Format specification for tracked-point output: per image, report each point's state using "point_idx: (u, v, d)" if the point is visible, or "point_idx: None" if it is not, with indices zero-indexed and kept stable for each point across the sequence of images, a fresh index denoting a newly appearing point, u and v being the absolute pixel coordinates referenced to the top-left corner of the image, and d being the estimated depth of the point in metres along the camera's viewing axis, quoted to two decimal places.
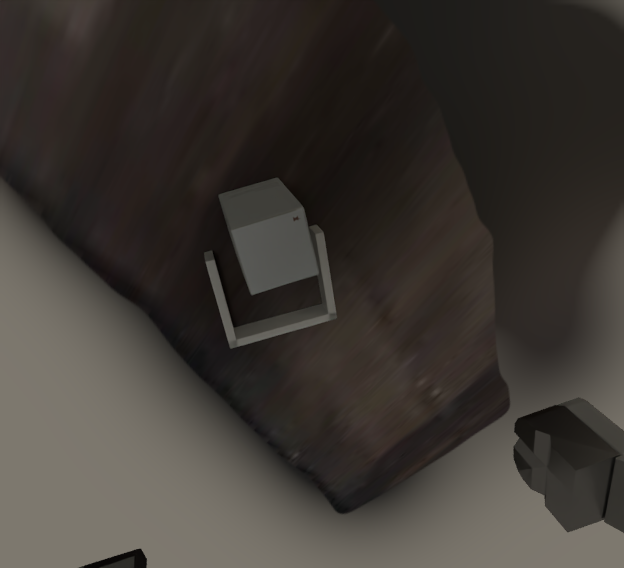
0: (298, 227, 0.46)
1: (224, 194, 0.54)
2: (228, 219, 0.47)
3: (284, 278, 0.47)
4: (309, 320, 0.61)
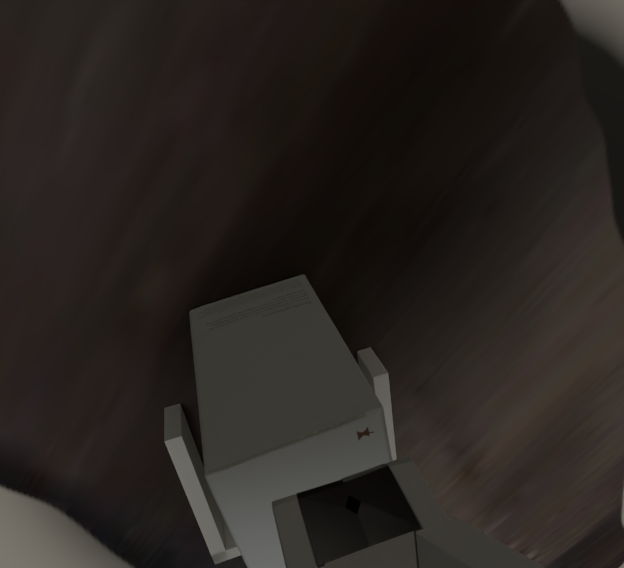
0: (367, 450, 0.19)
1: (200, 313, 0.27)
2: (202, 418, 0.20)
3: None
4: None
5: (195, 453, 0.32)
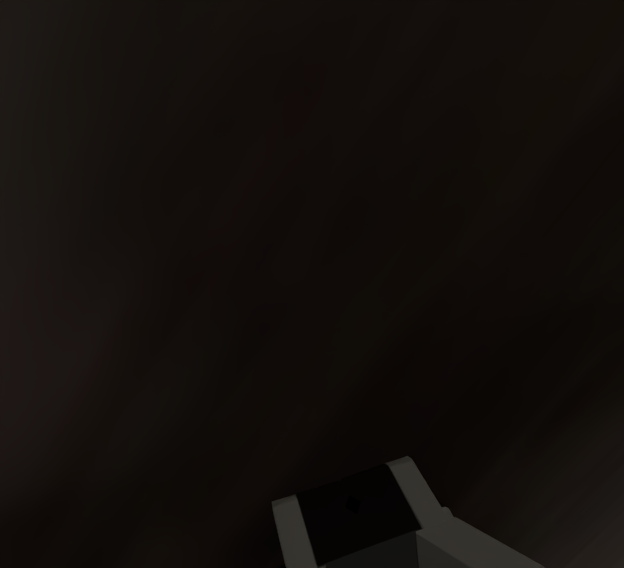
0: None
1: None
2: None
3: None
4: None
5: None
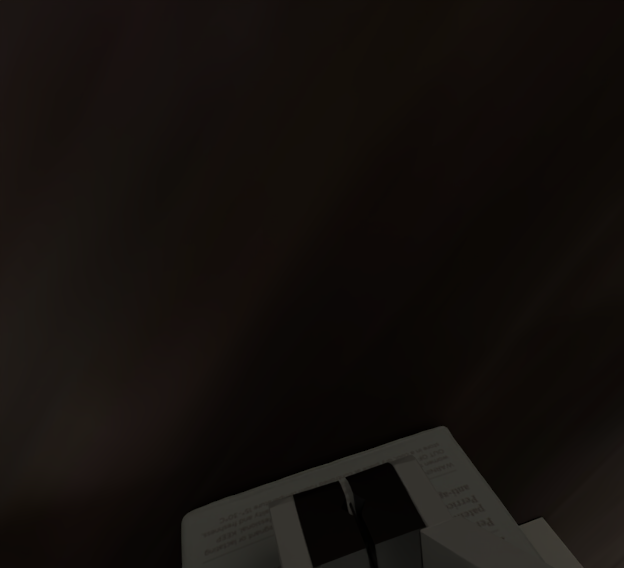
0: None
1: (210, 535, 0.11)
2: None
3: None
4: None
5: None
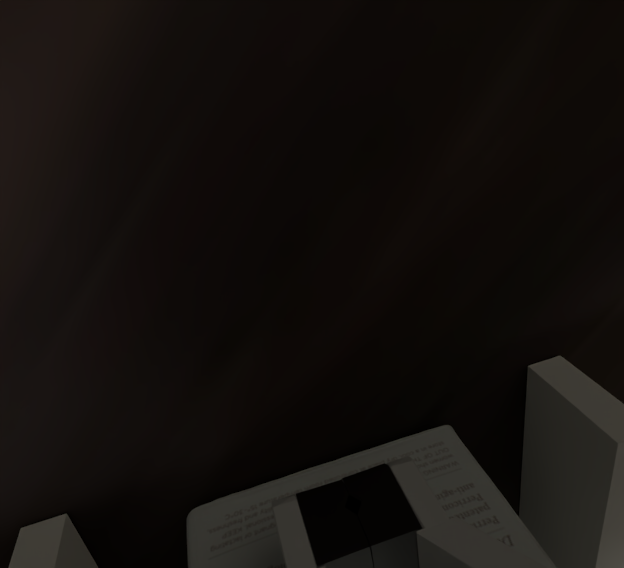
0: None
1: (215, 532, 0.11)
2: None
3: None
4: None
5: None
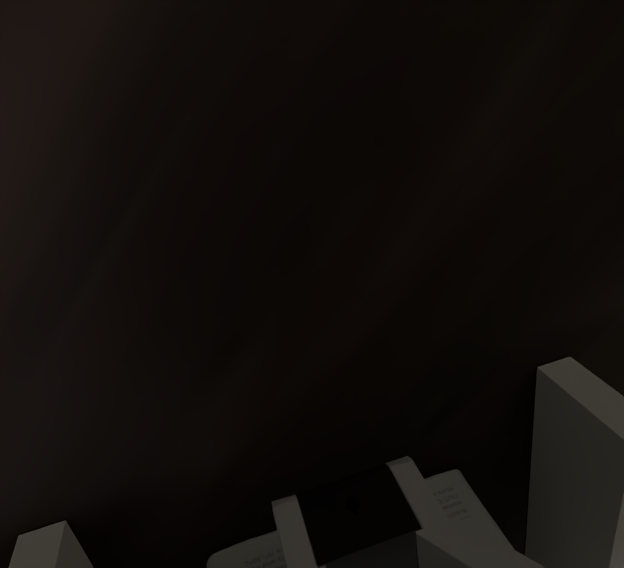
0: None
1: None
2: None
3: None
4: None
5: None
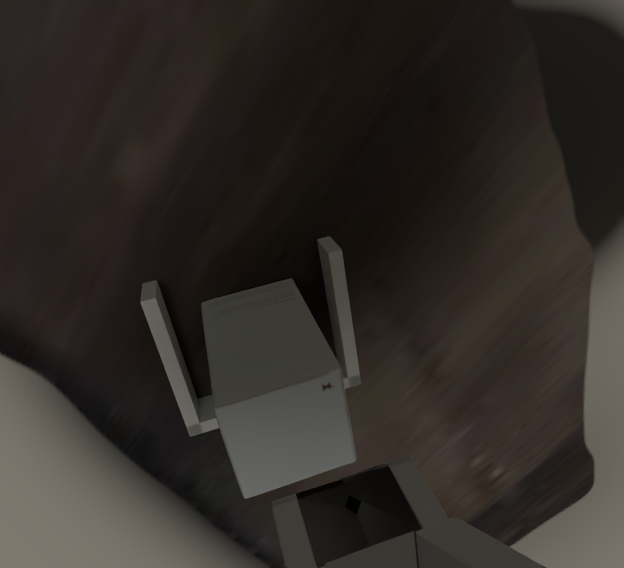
0: (329, 399, 0.27)
1: (210, 304, 0.35)
2: (212, 374, 0.28)
3: (300, 472, 0.29)
4: None
5: (171, 328, 0.35)
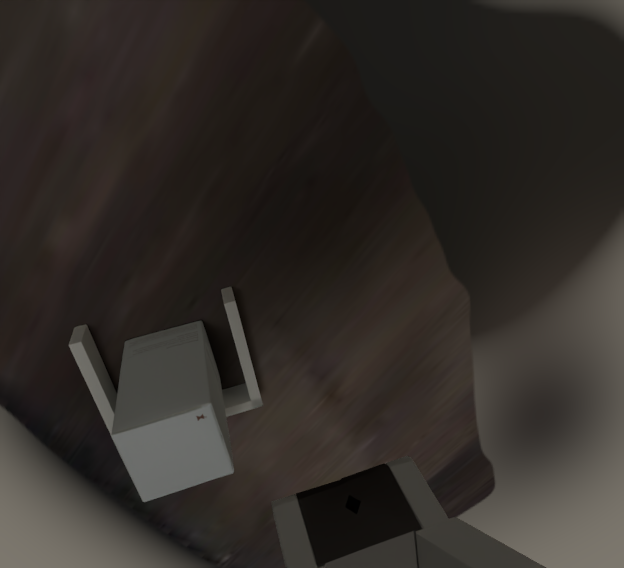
0: (204, 427, 0.35)
1: (131, 343, 0.43)
2: (116, 406, 0.36)
3: (187, 481, 0.37)
4: (225, 410, 0.47)
5: (99, 362, 0.43)
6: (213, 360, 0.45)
